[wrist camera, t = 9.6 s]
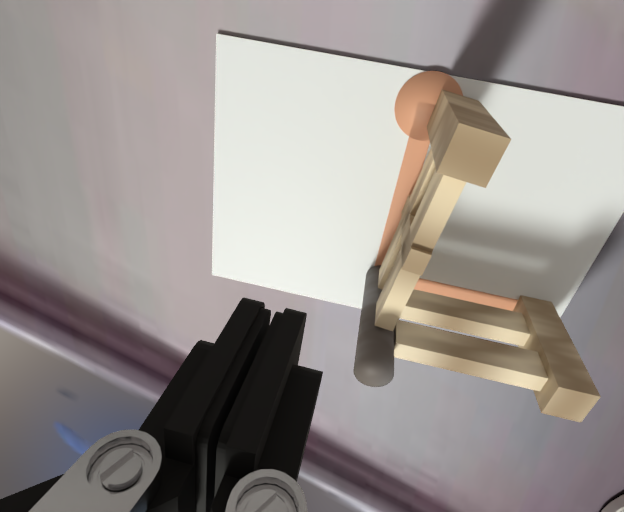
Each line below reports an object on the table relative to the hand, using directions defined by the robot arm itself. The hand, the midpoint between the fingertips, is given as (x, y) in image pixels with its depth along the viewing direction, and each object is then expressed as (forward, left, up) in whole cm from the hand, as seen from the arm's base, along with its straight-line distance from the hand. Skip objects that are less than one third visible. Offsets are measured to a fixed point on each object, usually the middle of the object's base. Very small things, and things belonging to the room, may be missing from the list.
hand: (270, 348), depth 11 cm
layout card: (-4, +3, -17) cm, 17 cm away
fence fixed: (-9, +8, -17) cm, 20 cm away
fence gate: (-5, +1, -16) cm, 17 cm away
